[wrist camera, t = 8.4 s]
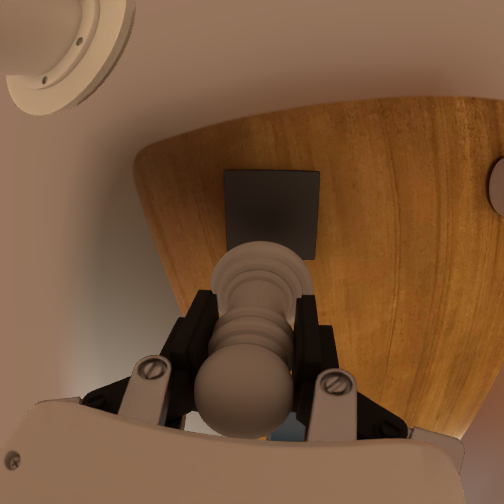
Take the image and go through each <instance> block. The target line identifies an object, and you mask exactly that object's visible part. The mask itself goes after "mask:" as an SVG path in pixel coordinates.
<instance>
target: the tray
mask: <svg viewBox="0 0 504 504" xmlns="http://www.w3.org/2000/svg"><path fill="white" fill-rule="evenodd" d="M304 430H305V426H304V425H303V424H301V423H300V422H299V421H298V420H296V413H294V412H291V411H290V413H289V415H288V417H287V419H286V420H285V422H284V423H283V424H282V425H281V426H280V427H279V428H278V429H277V430H275V431H274V432H272V433H271V434H269V435H268V437H267V441H289V442H303V436H304Z"/></svg>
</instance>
